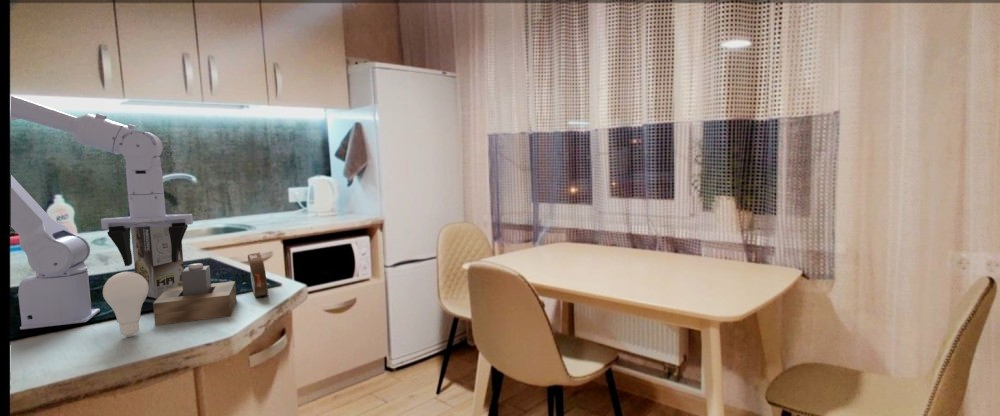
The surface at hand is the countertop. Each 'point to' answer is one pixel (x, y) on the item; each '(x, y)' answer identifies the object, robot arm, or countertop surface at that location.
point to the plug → (196, 280)
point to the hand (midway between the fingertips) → (152, 263)
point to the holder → (194, 304)
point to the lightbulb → (126, 299)
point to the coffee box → (156, 258)
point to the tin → (258, 275)
